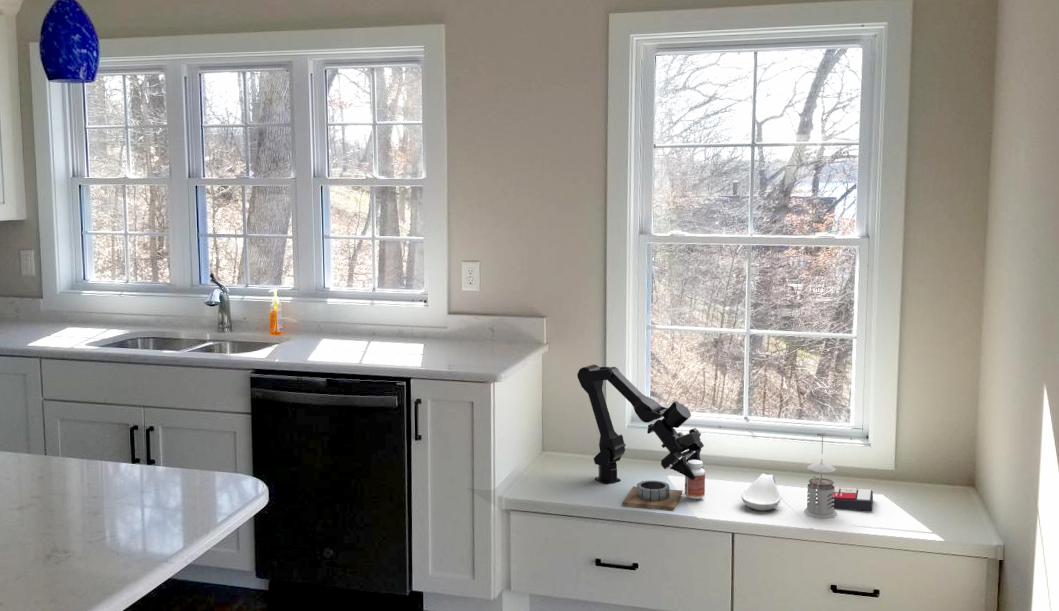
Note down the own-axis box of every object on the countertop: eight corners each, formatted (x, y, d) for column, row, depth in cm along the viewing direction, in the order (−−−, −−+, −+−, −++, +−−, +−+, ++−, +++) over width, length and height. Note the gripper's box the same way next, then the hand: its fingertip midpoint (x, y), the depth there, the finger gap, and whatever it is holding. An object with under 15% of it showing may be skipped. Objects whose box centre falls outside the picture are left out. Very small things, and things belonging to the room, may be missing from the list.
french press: (841, 510, 295) (843, 430, 292) (830, 522, 285) (833, 439, 282) (808, 505, 300) (810, 425, 297) (797, 516, 290) (799, 434, 287)
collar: (630, 494, 308) (630, 483, 308) (656, 489, 313) (656, 478, 313) (649, 503, 300) (649, 492, 299) (675, 497, 305) (675, 487, 304)
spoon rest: (778, 516, 291) (778, 493, 290) (738, 512, 295) (738, 489, 294) (786, 492, 313) (787, 470, 312) (749, 488, 317) (750, 467, 316)
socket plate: (622, 505, 302) (622, 502, 301) (633, 489, 317) (633, 486, 317) (674, 510, 297) (674, 506, 297) (682, 494, 312) (682, 490, 312)
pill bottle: (708, 496, 306) (709, 462, 305) (694, 500, 303) (694, 465, 302) (695, 491, 312) (695, 457, 310) (680, 494, 308) (681, 460, 307)
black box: (822, 485, 308) (872, 487, 303) (822, 498, 309) (873, 501, 303) (819, 496, 298) (871, 498, 293) (819, 509, 299) (871, 512, 293)
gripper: (670, 427, 299) (701, 469, 294) (699, 415, 314) (729, 454, 309) (647, 448, 305) (678, 489, 300) (677, 435, 320) (706, 474, 315)
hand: (699, 476), depth 306 cm, fingers closed on pill bottle, 6 cm apart
